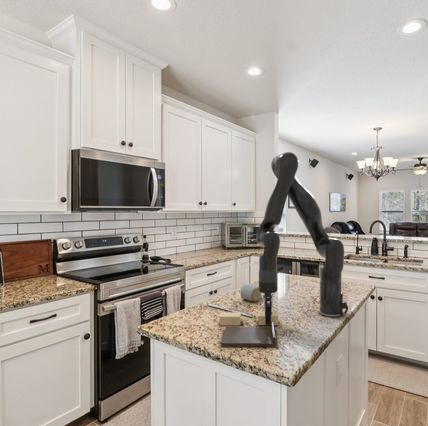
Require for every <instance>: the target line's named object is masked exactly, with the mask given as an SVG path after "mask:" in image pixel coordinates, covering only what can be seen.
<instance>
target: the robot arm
mask: <svg viewBox="0 0 428 426" xmlns="http://www.w3.org/2000/svg"><path fill="white" fill-rule="evenodd" d="M270 168H271V171H272V173H273V175H274V176H275V177H276V183H275V187H274V188H273V190H272V192H271V193H270V194H271V195H270V196H269V198H268V201H267V203H266V206H265V207H266V208H265V212H264V216H263V219H262V221H261V223H260V225H259V227H258V229H257V232H256V243H257V245H258V246H260V247H262V248H263V253H261V254H260V255H259V258H258V259H259V260H258V263H259V264H258V288H259V292H261V294H262V301H263V309H264V312H265V324H266V325H265V326H271V315H272V312H273V311H272V310H273V307H274V305H273V302H274V296H273V294H275V293H277V292H278V268H277V266H278V265H277V264H278V263H277V258H278V255H279V252H280V251H279V250H280V246H281V237H280V235H279V233H278V232H277V231H276V230H275V228H276V227H277V226H279V225H280V224H281V222H282V219H283V214H284V210H285V206H286V202H287V198H288V199H289V200H290V201H291V203H292V205H293V207H294V209H295V210H296V212H297V214H298V216H299V218H300V220H301V221H302V223H303V225H304V226H305V229H306V230H307V232H308V233H309V235H310V238H311V240H312V243H313V245H314V247H315V250H316V252H317V253H318V255H319V256H320V257H322V258H323V259H325V260H324V265H323V266H321V267H320V269H319V300H318V301H319V302H318V303H319V314H320V315H322V316H323V317H324V316H325V317H329V318H330V317H331V318H337V317H342V316H344V315H346V314H347V313H348V311H349V305H348V302H347V301H346V300H345V299H344V293H343V292H342V276H343V275H342V273H343V270H344V266H345V265H344V264H345V246H344V243H343V242H342V241H341V240H340V239H339V238H333V237H330V236H329V234H328V233H327V231H326V229H325V227H324V225H323V218H322V211H321V208H320V206H319V204H318V202H317V201H316V199H315V197H314V196H313V195H312V193H311V192H310V191H309V190H308V189H307V188H305V186H303V184H301V183H300V182H299V180H298V178H297V177H296V174H297V171H298V169H299V158H298V156H297V155H296V154H295V153H294V152H291V151H287V152H283V153H281V154H278V155H276V156H275V157H273V158H272V160H271V163H270Z"/></svg>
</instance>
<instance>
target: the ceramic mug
mask: <svg viewBox="0 0 428 426" xmlns="http://www.w3.org/2000/svg"><path fill="white" fill-rule="evenodd" d="M240 297H241V298H242V300H246V301H249V302H253V303H254V302H257V301H259V300H260V299H263V294H262V293H261V292H259V287H257V286H255V285H251V284H249V283H245V284H243V285H242V286H241V288H240Z"/></svg>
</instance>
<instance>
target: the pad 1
mask: <svg viewBox="0 0 428 426" xmlns="http://www.w3.org/2000/svg"><path fill="white" fill-rule="evenodd" d="M239 312H240V311H239ZM239 312H232V311H228V312H227V311H226V312H225V311H223V312H221V313H220V315H219V326H237V327H241V322H242V314H241V313H239Z"/></svg>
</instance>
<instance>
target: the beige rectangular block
mask: <svg viewBox="0 0 428 426" xmlns="http://www.w3.org/2000/svg"><path fill="white" fill-rule="evenodd" d="M271 322H274V326H279V312H278V311H272V315H271ZM257 324H258V326H267V325H266V324H265V311H258V312H257Z"/></svg>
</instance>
